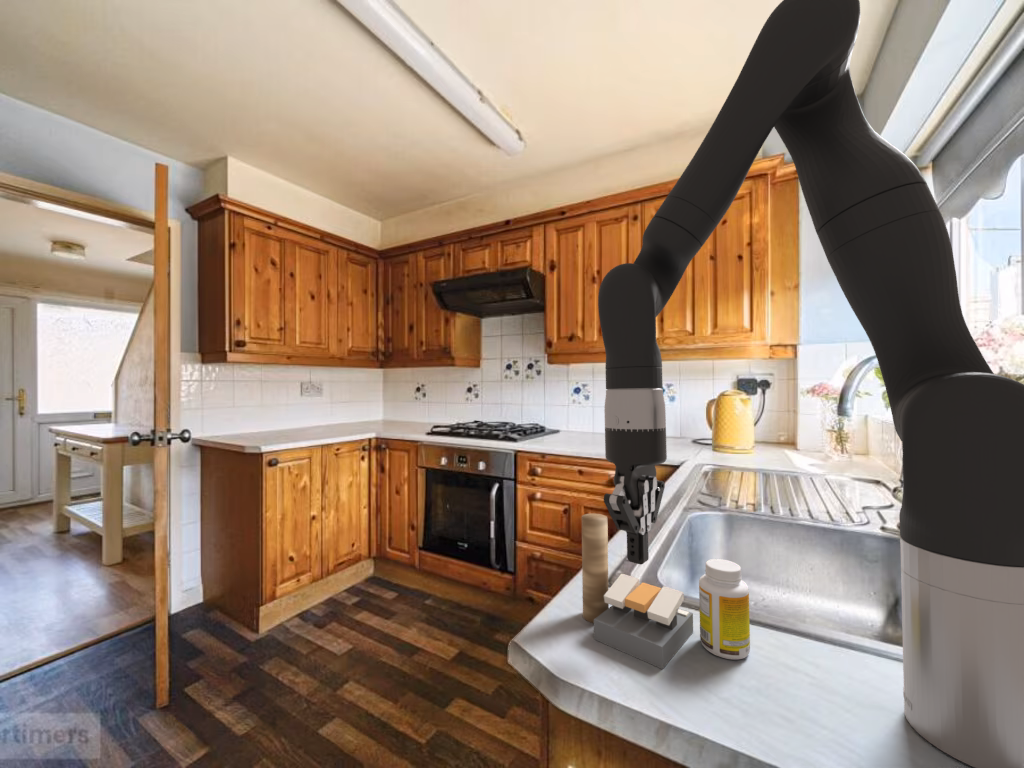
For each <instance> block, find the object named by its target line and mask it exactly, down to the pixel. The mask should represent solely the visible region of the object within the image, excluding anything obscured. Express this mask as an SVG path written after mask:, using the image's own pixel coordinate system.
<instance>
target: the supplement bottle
mask: <svg viewBox="0 0 1024 768" xmlns="http://www.w3.org/2000/svg"><path fill="white" fill-rule="evenodd" d="M704 571H705V573H704V574H703V575H701V576H700V577H699V579H698V593H699V595H698V597H699V598H698V601H699V639H700V642H701V645H702V647H704V649H705V650H706V651H708V652H709V653H711V654H713V655H714V656H717V657H719V658H723V659H726V660H734V661H735V660H742V659H745V658H747V657H748V656H749V654H750V651H751V631H750V630H751V629H750V628H751V627H750V624H751V623H750V591H749V586H748V585H747V583H746V582H745V581H744V580H743V578H742V567H741V566H740V565H739V564H737V563H736V562H734V561H731V560H728V559H722V558H721V559H720V558H719V559H718V558H711V559H708V560H707V561H705V570H704Z"/></svg>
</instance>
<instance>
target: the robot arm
mask: <svg viewBox="0 0 1024 768" xmlns="http://www.w3.org/2000/svg"><path fill="white" fill-rule="evenodd" d="M860 23H861V2H860V0H782V1H781V2H780V3H779V4H778V5H777V6H776V7H775V8H774V9H773V11H772V12H771V13H770V14H769V16H768V17H767V18H766V21H765V22H764V24H763V26H762V28H761V30H760V32H759V34H758V36H757V38H756V40H755V41H754V43H753V45H752V48H751V49H750V52H749V54H748V56H747V58H746V59H745V60H746V61H744V65H743V66H742V68H741V70H740V73H739V75H738V77H737V79H735V80H736V81H735V82H734V84H733V86H732V88H731V90H730V91H729V93H728V96H727V98H726V99H725V101H724V103H723V105H722V106H721V108H720V110H719V112H718V114H717V116H716V117H715V119H714V121H713V123H712V124H711V127H710V128H709V130H708V132H707V133H706V135H705V137H704V138H703V140H702V142H701V144H700V145H699V147H698V148H697V150H696V151H695V153H694V155H693V157H692V158H691V160H690V161H689V162H688V164H687V166H686V167H685V169H684V171H683V172H682V174H681V175H680V177H679V178H678V180H677V181H676V183H675V184H674V185H673V187H672V189H671V190H670V191H669V193H668V194H667V196H666V198H665V199H664V201H663V202H662V203H661V205H660V206H659V208H658V209H657V210H656V212H655V214H654V215H653V217H651V220H650V221H649V223H648V225H647V226H646V228H645V229H644V232H643V235H642V244H641V245H642V247H641V249H640V251H639V253H638V255H637V257H636V258H635V260H634V261H633V263H632V262H631V263H630V262H628V263H621V264H618V265H616V266H614V267H612V269H610V270H609V271H608V272H607V273H606V274H605V275H604V277H603V279H602V281H601V282H600V285H599V289H598V299H597V306H598V308H597V309H598V317H599V324H600V329H601V336H602V341H603V346H604V351H605V389H606V390H605V397H604V398H605V400H604V410H603V411H604V441H605V442H604V445H605V446H604V448H605V451H604V452H605V459H606V461H608V462H610V463H611V464H614V466H615V471H614V476H613V484H614V486H615V487H614V489H613V491H612V493H607V492H606V493H605V494H604V496H603V503H604V505H605V507H606V509H607V511H608V513H609V515H610V517H611V519H612V521H613V523H614V525H615V527H616V529H617V530H620V531H624V532H626V554H627V555H626V556H627V557H626V558H627V560H628V562H630V563H634V564H636V565H643V564H644V563H646V562H647V561H649V558H650V557H649V532H650V531H651V530H652V529H651V528H652V524H656V523H657V520H658V519H657V518H658V515H659V512H660V507H661V504H662V499H663V495H664V491H665V487H666V485H665V484H666V483H665V481H663V480H658V479H657V468H656V466H657V465H661V464H664V463H665V462H666V461H667V457H668V455H667V453H668V452H667V451H668V450H667V427H666V424H667V423H666V422H667V421H666V420H667V419H666V415H667V413H666V404H665V403H666V402H665V396H664V389H663V386H664V385H663V361H662V353H661V350H660V347H659V345H658V341H657V319H656V318H657V317H658V316H659V315H660V313H661V312H662V310H663V309H664V308H665V307H666V305H667V303H668V302H669V300H670V299H671V298H672V295H673V294H674V292H675V290H676V288H677V287H678V285H679V283H680V281H681V279H682V278H683V276H684V274H685V272H686V270H687V268H688V266H689V264H690V263H691V261H692V260H693V258H694V257H695V256H696V255H697V254H698V252H700V250H701V248H702V247H703V246H704V245H705V243H706V242H707V240H708V239H709V238H710V236H711V235H712V233H713V232H714V231H715V229H716V228H717V227H718V225H719V223H721V222H722V219H723V218H724V217H725V215H726V213H727V212H728V210H729V208H731V205H732V203H733V202H734V200H735V198H736V197H737V195H738V193H739V191H740V189H741V188H742V185H743V183H744V181H745V179H746V178H747V175H748V174H749V172H750V169H751V168H752V166H753V164H754V161H755V160H756V158H757V156H758V154H759V152H760V151H761V149H762V147H763V145H764V143H765V142H766V140H767V138H768V137H769V135H770V133H771V132H772V130H773V129H775V131H776V133H777V134H778V136H779V138H780V139H781V141H782V142H783V144H784V147H785V148H786V149H787V151H788V154H789V155H790V157H791V158H790V159H791V160H792V162H793V165H794V168H795V170H796V174H797V178H798V181H799V182H798V183H799V185H800V188H801V191H802V195H803V198H804V201H805V204H806V207H807V210H808V213H809V215H810V219H811V222H812V224H813V228H814V230H815V233H816V235H817V238H818V239H819V242H820V244H821V248H822V249H823V252H824V254H825V257H826V259H827V262H828V264H829V266H830V268H831V270H832V272H833V274H834V276H835V278H836V280H837V283H838V284H839V287H840V289H841V291H842V293H843V294H844V296H845V298H846V300H847V302H848V304H849V306H850V308H851V309H852V311H853V313H854V315H855V317H856V318H857V320H858V321H859V323H860V325H861V327H862V328H863V330H864V331H865V332H864V333H865V334H866V335H867V337H868V340H869V342H870V343H871V346H872V348H873V352H874V354H875V357H876V360H877V363H878V366H879V369H880V373H881V377H882V380H883V383H884V387H885V391H886V394H887V398H888V404H889V407H890V411H891V415H892V422H893V425H894V430H895V433H896V434H897V436H898V437H899V440H900V441H901V443H902V444H901V445H902V446H901V447H902V448H901V449H902V486H903V487H902V500H901V506H900V510H899V517H898V518H899V535H900V536H899V538H900V539H899V541H900V543H899V544H900V574H901V575H900V577H901V578H900V579H901V583H900V584H901V585H900V586H901V589H900V590H901V624H902V626H901V630H902V631H901V632H902V666H903V667H902V670H903V687H902V688H903V689H902V690H903V691H902V693H903V704H904V705H903V708H904V710H903V711H904V716H905V718H906V720H907V722H908V723H909V725H910V726H911V728H912V729H914V731H916V732H917V734H919V736H921V737H923V738H924V739H925V740H926V741H927V742H928V743H930V744H931V745H933V746H934V747H936V748H937V749H939V750H940V751H941V752H944V753H945V754H947V755H949V756H951V757H952V758H954V759H956V760H958V761H959V762H961V763H965V764H966V765H968V766H971V767H973V768H1024V383H1023V382H1020V381H1018V380H1016V379H1013V378H1010V377H1007V376H1005V375H1004V376H1003V375H999V374H995V373H994V371H992V369H991V367H990V366H989V364H988V362H987V361H986V359H985V357H984V356H983V353H982V352H981V350H980V348H979V347H978V345H977V343H976V341H975V340H974V338H973V336H972V334H971V332H970V329H969V327H968V325H967V323H966V320H965V317H964V315H963V311H962V306H961V303H960V301H961V300H960V296H959V295H960V294H959V287H958V280H957V273H956V266H955V265H956V264H955V259H954V253H953V248H952V243H951V237H950V235H949V232H948V231H949V230H948V229H947V226H946V222H945V219H944V216H943V215H942V213H941V211H940V208H939V207H938V204H937V202H936V200H935V198H934V195H933V194H932V192H931V190H930V187H929V185H928V183H927V181H926V180H925V177H924V176H923V173H922V172H921V170H920V169H919V168H918V167H917V165H916V164H915V163H914V162H913V161H912V160H911V159H910V158H909V157H908V156H907V155H906V154H905V153H904V152H902V151H901V150H900V149H899V148H897V147H896V146H895V145H894V144H892V143H890V142H889V141H888V140H886V139H885V138H884V137H882V136H881V135H880V134H879V133H878V132H877V131H876V130H874V128H873V127H872V126H871V124H870V123H869V122H868V120H867V119H866V116H865V114H864V112H863V110H862V109H863V108H861V104H860V101H859V99H858V96H857V94H856V90H855V87H854V83H853V80H852V74H851V60H852V56H853V52H854V48H855V45H856V41H857V37H858V35H859V34H858V33H859V29H860Z"/></svg>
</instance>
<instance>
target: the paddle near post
mask: <svg viewBox="0 0 1024 768" xmlns="http://www.w3.org/2000/svg"><path fill="white" fill-rule="evenodd" d="M640 584H641V583H640V578H638V577H634V576H631V575H629V574H628V575H627V574H624V573H620V575H619V576H618V577H617V579H615V580H614V582H613V583H612V585H611V586H610V587H609V588H608V591H607V592H606V594H605V595H604V601H605V603H608V604H609V605H611V606H612V605H613V606H616V607H619V608H621V609H623V608H624V607H625V598H626V597H627V596H628V595H629V594H630V593H632V592H633V591H634V590H635V589H636V588H637V587H638V586H639V585H640Z"/></svg>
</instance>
